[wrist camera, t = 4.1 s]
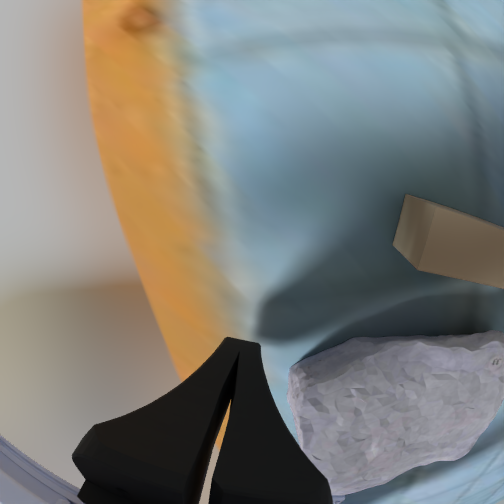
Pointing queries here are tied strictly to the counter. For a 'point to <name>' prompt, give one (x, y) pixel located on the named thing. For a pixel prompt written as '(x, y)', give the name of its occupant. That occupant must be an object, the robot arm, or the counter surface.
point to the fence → (450, 242)
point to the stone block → (394, 404)
